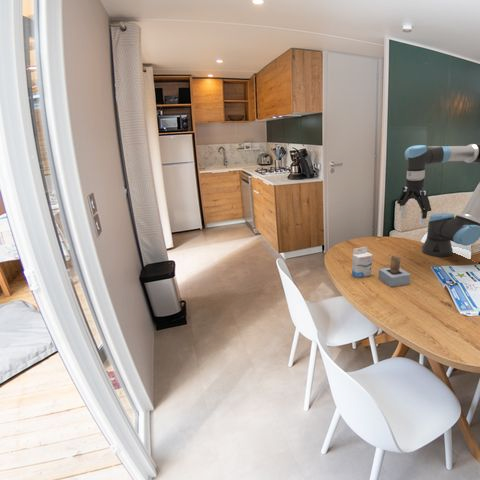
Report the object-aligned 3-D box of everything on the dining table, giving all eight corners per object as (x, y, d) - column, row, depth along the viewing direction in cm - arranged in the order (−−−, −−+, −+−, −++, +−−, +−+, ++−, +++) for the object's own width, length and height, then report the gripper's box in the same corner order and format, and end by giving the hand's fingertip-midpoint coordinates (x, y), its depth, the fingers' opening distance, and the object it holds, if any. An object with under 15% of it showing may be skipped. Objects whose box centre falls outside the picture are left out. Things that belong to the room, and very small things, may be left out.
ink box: (356, 278, 155) (358, 252, 150) (351, 274, 159) (352, 248, 155) (371, 275, 156) (373, 249, 152) (365, 271, 161) (367, 246, 156)
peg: (394, 276, 151) (397, 254, 147) (399, 280, 147) (402, 257, 143) (387, 277, 150) (389, 255, 146) (392, 281, 147) (395, 259, 143)
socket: (396, 274, 155) (397, 266, 153) (409, 283, 145) (410, 274, 144) (378, 277, 153) (379, 269, 152) (390, 287, 144) (391, 277, 142)
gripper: (391, 177, 155) (389, 216, 163) (428, 183, 132) (424, 229, 139) (403, 175, 156) (401, 213, 164) (443, 181, 133) (438, 226, 140)
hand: (412, 220), depth 152 cm, fingers open, 13 cm apart
